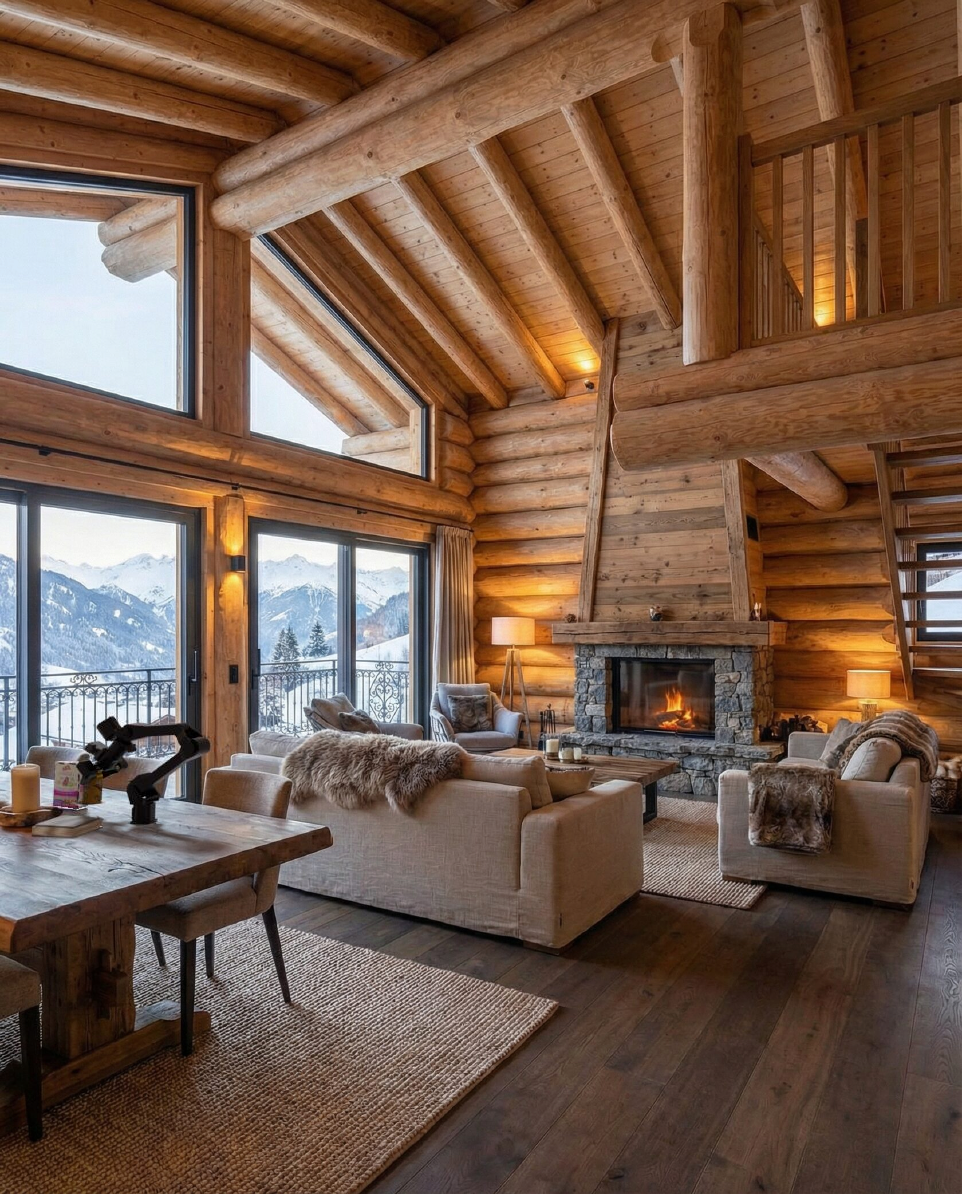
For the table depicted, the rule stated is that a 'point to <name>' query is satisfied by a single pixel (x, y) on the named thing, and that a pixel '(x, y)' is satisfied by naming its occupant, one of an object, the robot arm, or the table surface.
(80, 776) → the candy bar box
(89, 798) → the condiment
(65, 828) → the birch base
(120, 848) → the table surface
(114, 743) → the robot arm
